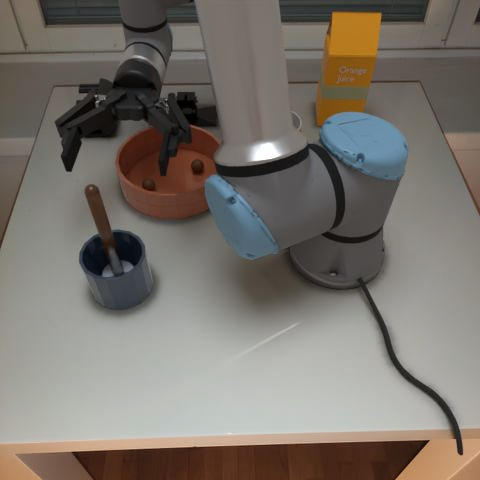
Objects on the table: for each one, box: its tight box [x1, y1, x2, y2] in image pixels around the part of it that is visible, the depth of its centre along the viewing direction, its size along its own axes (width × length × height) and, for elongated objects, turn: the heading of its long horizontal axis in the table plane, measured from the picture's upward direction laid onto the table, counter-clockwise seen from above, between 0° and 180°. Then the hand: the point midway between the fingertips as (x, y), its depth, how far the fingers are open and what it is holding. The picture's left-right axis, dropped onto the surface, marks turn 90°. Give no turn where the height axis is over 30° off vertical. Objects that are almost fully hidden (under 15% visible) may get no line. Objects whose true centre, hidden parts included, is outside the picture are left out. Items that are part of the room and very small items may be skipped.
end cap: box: [75, 77, 116, 138], centre depth 95 cm, size 10×7×7 cm
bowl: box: [114, 125, 221, 220], centre depth 85 cm, size 19×19×6 cm
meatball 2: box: [191, 159, 204, 173], centre depth 88 cm, size 2×2×2 cm
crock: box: [78, 228, 154, 311], centre depth 71 cm, size 9×9×8 cm
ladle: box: [83, 183, 134, 277], centre depth 66 cm, size 5×5×20 cm
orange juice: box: [314, 10, 383, 127], centre depth 91 cm, size 8×9×20 cm
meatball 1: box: [142, 178, 155, 191], centre depth 85 cm, size 2×2×2 cm
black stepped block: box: [158, 91, 218, 128], centre depth 97 cm, size 12×7×5 cm, turn 90°
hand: (113, 166), depth 67 cm, fingers open, 13 cm apart
